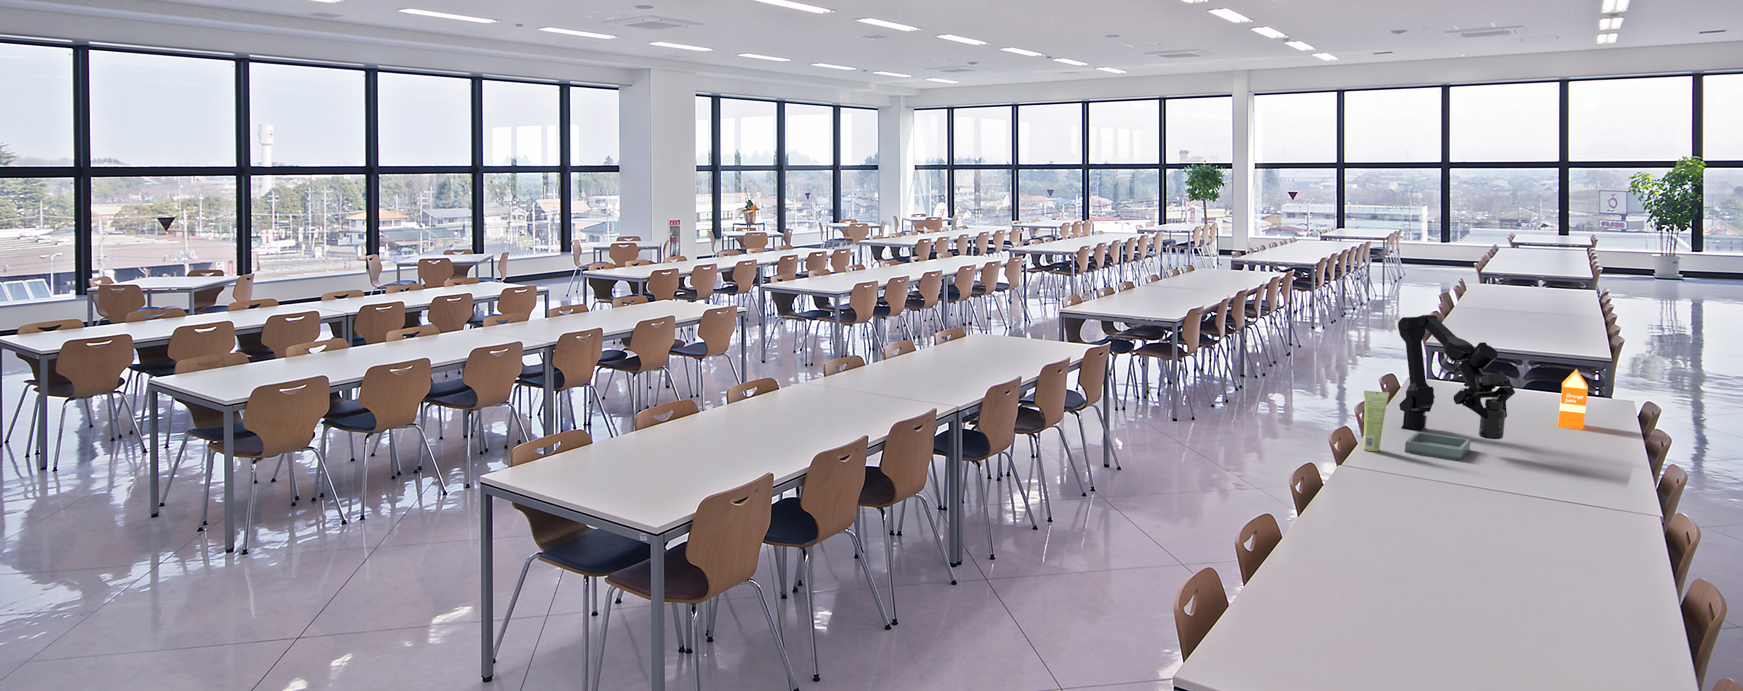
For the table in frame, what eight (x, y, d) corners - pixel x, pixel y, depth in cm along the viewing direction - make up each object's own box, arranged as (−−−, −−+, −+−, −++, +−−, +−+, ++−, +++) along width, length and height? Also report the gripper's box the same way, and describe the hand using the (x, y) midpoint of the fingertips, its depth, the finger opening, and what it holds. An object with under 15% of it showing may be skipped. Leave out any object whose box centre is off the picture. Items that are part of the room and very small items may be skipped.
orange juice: (1583, 424, 386) (1589, 369, 383) (1583, 429, 379) (1590, 373, 376) (1557, 421, 391) (1563, 367, 387) (1557, 426, 383) (1563, 371, 380)
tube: (1371, 447, 356) (1376, 388, 352) (1384, 450, 351) (1389, 392, 348) (1359, 449, 353) (1363, 390, 350) (1372, 452, 349) (1377, 393, 345)
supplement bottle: (1496, 434, 349) (1501, 398, 346) (1506, 440, 342) (1511, 403, 340) (1474, 433, 349) (1478, 397, 347) (1484, 439, 343) (1488, 402, 340)
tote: (1404, 452, 350) (1405, 441, 349) (1415, 442, 362) (1416, 431, 362) (1460, 460, 340) (1461, 449, 339) (1469, 450, 352) (1470, 439, 352)
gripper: (1463, 363, 343) (1486, 405, 335) (1514, 361, 347) (1537, 403, 338) (1443, 382, 352) (1464, 424, 344) (1492, 380, 356) (1515, 421, 347)
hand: (1496, 417), depth 343 cm, fingers closed on supplement bottle, 7 cm apart
